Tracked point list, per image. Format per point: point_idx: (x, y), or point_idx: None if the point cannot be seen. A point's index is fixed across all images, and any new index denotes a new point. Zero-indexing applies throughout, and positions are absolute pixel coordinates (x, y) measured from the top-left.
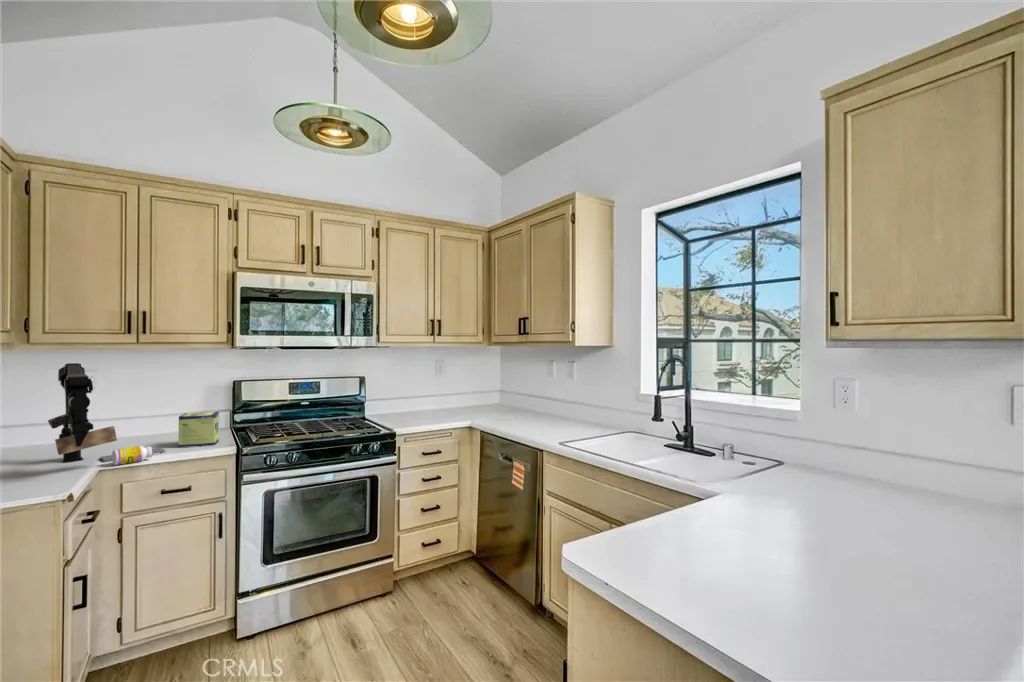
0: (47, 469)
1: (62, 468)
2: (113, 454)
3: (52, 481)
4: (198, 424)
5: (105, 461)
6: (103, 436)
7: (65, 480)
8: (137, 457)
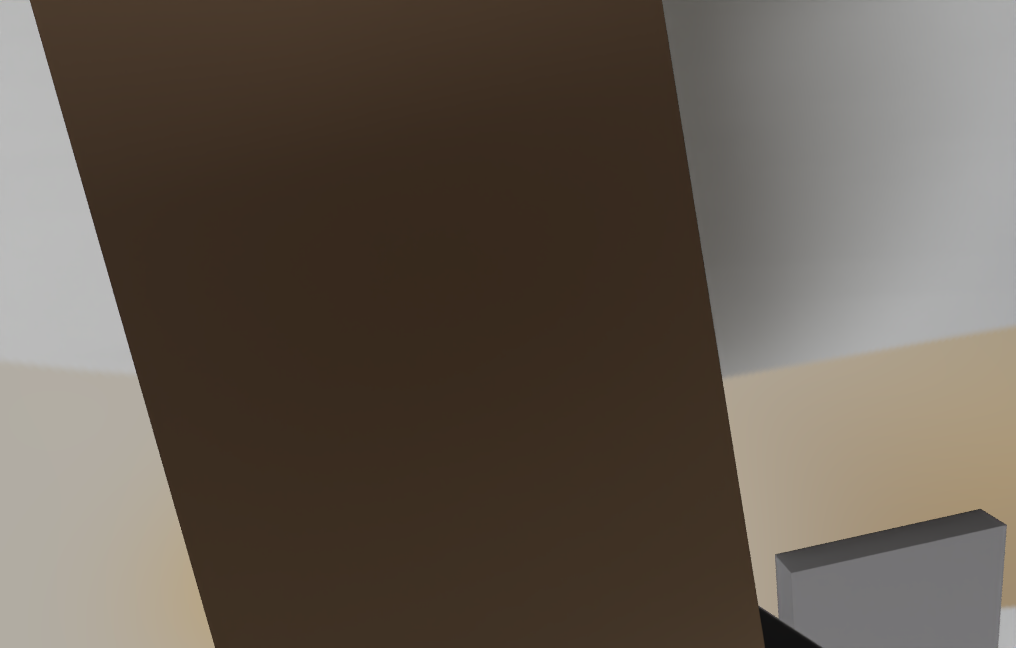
0: (877, 24)
1: (793, 185)
2: None
3: (53, 108)
4: None
5: (779, 567)
6: None
7: (22, 246)
8: None
